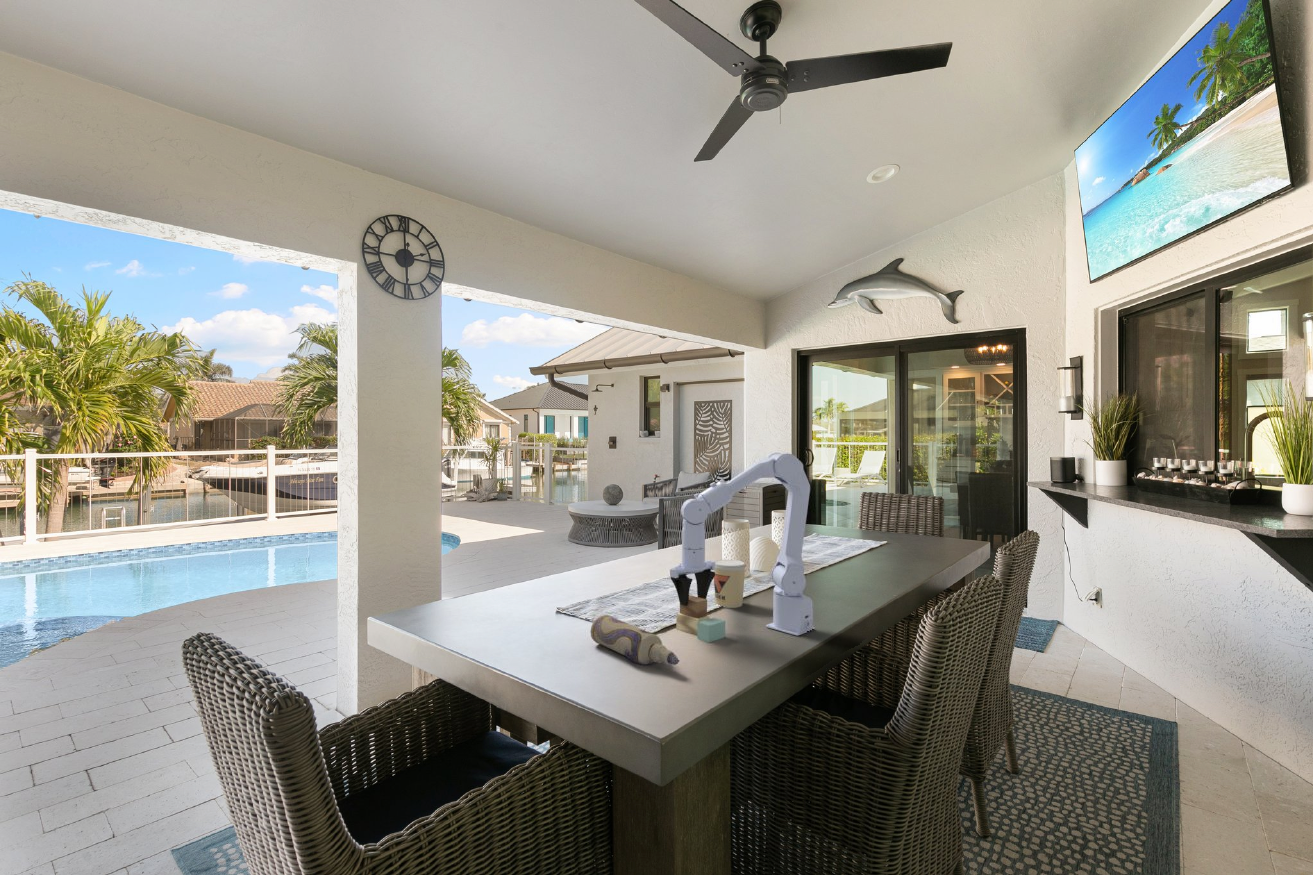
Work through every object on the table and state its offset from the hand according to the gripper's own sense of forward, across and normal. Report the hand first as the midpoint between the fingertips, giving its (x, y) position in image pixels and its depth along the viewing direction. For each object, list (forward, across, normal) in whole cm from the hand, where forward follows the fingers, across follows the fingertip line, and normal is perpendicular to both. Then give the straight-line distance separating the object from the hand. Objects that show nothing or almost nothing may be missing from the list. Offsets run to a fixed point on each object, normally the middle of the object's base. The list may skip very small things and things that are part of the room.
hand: (693, 602), depth 148 cm
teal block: (+7, +1, +7) cm, 10 cm away
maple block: (+7, 0, 0) cm, 7 cm away
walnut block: (+3, 0, 0) cm, 3 cm away
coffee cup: (+7, -25, -9) cm, 27 cm away
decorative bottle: (+7, +24, +4) cm, 25 cm away
